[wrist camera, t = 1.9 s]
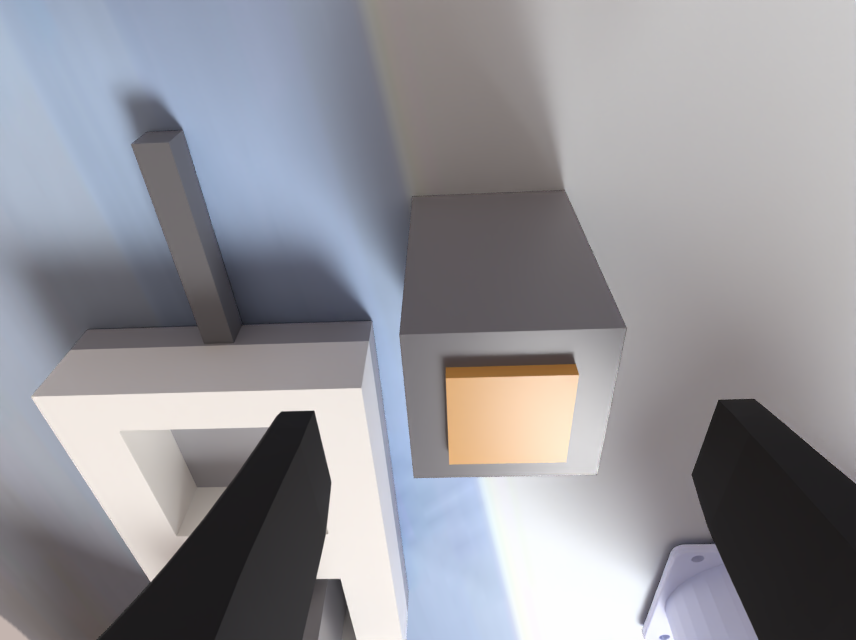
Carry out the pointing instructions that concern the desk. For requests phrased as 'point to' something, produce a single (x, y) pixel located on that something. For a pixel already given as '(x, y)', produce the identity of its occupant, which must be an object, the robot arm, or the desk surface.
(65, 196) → the desk surface
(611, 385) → the plug
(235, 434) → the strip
